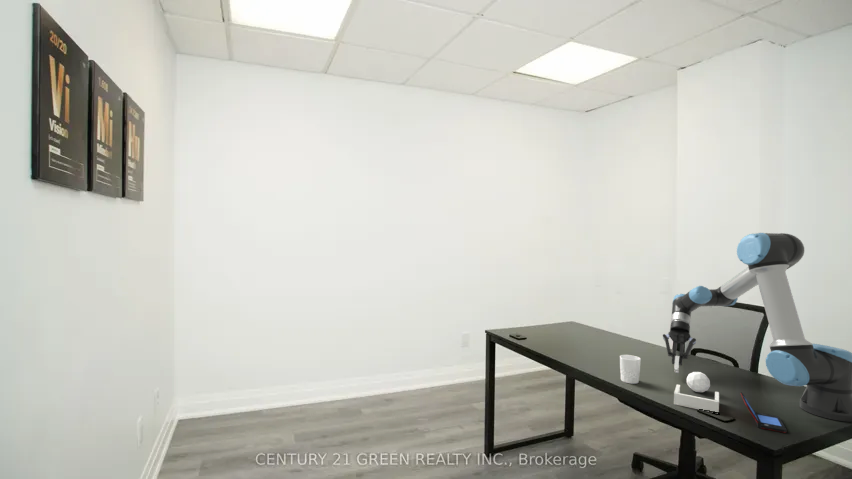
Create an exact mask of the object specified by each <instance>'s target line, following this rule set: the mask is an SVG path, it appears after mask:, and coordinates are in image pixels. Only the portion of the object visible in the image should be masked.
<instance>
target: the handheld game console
mask: <svg viewBox="0 0 852 479" xmlns="http://www.w3.org/2000/svg"><path fill="white" fill-rule="evenodd" d="M740 395H741V398H742V400H743V402H744V405H745V406H746V407H747V410H748V411H749V413H750V414H751V417H753V419H754V421H755V424H756V426H757V428H759V429H763V430H769V431H773V432H778V433H784V434H785V433H787V432H788V430H787V427H786V425H785V424H784V422H783V420H782V419H781V417H780V416H777V415H773V414H769V413H762V412H758V411H755V410H754V409H753V408H752V406H751V404H750V403H749V401H748V400H747V398H746V397H745V396H744V393H743V392H740Z"/></svg>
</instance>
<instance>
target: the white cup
mask: <svg viewBox="0 0 852 479" xmlns="http://www.w3.org/2000/svg"><path fill="white" fill-rule="evenodd" d="M641 362H642V361H641V357H639V356H636V355H633V354H632V355H631V354H620V355H619V369H620V371H619V372H620V380H621V382H623V383H626V384H630V385H631V384H632V385H633V384H634V385H635V384H638V383H639V381H640V373H641Z"/></svg>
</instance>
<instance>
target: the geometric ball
mask: <svg viewBox="0 0 852 479" xmlns="http://www.w3.org/2000/svg"><path fill="white" fill-rule="evenodd" d="M686 384H687V386H688V387H689V388H690V390H692V391H693V392H695V393H704V392H707V391H708V390H709V388H710V387H711V381H710V378H709V377H708V376H707V375H706V374H705V373H703V372H701V371H692V372H690V373H688V375H687V377H686Z"/></svg>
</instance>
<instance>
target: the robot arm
mask: <svg viewBox="0 0 852 479" xmlns="http://www.w3.org/2000/svg"><path fill="white" fill-rule="evenodd" d="M804 245H805V244H803V242H802V241H801V239H799V238H798V237H797V236H795V235H793V234H790V233H785V232H784V233H782V232H781V233H778V232H777V233H774V232H773V233H772V232H771V233H768V232H758V233H757V232H755V233H749V234H747V235H745V236H744V237H742V238H741V239H740V242H738V244H737V246H736V247H737V248H736V255H737V258H738V259H739V261H740V262H742V263H743V264H744V265H746V266H748V267H746V268H745V269H743V270H742V271H741V272H739V273H738V274H736V275H735V276H733V277H732V278H731V279H729V280H728V281H726V282H725V283H724V284H722V285H721V286H719V287H717V288H715V289H714V288H713V289H712V288H711V289H709V288H708V287H707V286H703V285H698V286H696V287H693V288H691V289H690V290H689V291H688V292H687V293H680V294H676V295H674V297H673V300H672V306H671V308H672V309H671V318H670V319H671V320H670V329H669V331H668V333H666V334H665V333H664V334H662V339H663V340H664V342H665V346H666V353H667V356H668V357H671V364H672V365H673V366H674V367H673V368H674V369H673V371H674V373H677V374H679V371H680V369H679V368H680V366H683V361H684V360H687V359H688V358H689V356H690V354H691V351H692V349H693V346H694V345H696V343H697V339H696V338H695V337H694V338H693V337H692V336H691V334H690V332H691V331H690V330H691V319H692V318H691V316H692V312H694V311H695V310H697V309H698V308H701V307H729V306H734V305H735V304H736V303H737V302H738V299H739V298H740V297H741V296H742V295H744V294H746V293H748V291H750V290H752V289H754V288H755V287H757V286H758V289H759V292H760V295H761V299H762V304H763V307H764V310H765V314H766V318H767V321H768V325H769V328H770V333H771V336H772V340H773V341H772V343H771V344H770V345H769V348H770V352H768V353H767V355H766V356H767V357H765V367H766V369H767V371H768V373H769V374H770V375H771V377H772V378H774V379H775V380H777V381H778V382H779V383H781V384H782V385H785V386H794V387H804V386H805V389H804V391H803V393H802V395H801V397H800V399H799V408H800V409H802V410H804V411H805V412H807V413H808V414H809V413H810V414H812V415H815V416H818V417H821V418H824V419H829V420H833V421H839V422H847V423H848V422H850V423H852V351H849V350H847V349H843V348H838V347H835V346H830V345H824V344H820V343H819V344H818V343H812V342H810V341H809V340H807V339H806V338H805V334H804V331H803V328H802V324H801V321H800V318H799V314H798V311H797V310H798V309H797V308H796V304H795V303H796V302H795V300H794V298H793V297H794V296H793V293H792V290H791V287H790V283H789V281H788V280H789V279H788V276H787V273H786V271H787V270H789V269H790V268H792V267H793V266H795V265H796V264H798V263H799V262H800V261H801V260H802V258H803V256H804V254H805V246H804ZM669 339H671V341H672V342H673V343H672V350H671V345H670V341H669ZM687 342H688V345H687V346H686V350H685V349H684V346H685V344H686V343H687ZM678 344H679V353H678V354H679V355H677V351H678V350H677V349H678ZM684 350H685V351H684Z"/></svg>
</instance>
